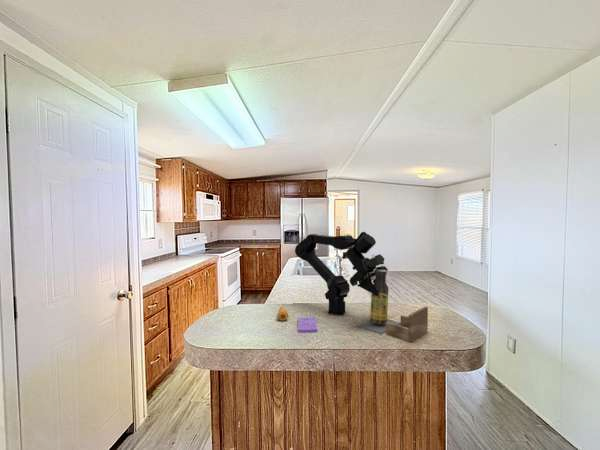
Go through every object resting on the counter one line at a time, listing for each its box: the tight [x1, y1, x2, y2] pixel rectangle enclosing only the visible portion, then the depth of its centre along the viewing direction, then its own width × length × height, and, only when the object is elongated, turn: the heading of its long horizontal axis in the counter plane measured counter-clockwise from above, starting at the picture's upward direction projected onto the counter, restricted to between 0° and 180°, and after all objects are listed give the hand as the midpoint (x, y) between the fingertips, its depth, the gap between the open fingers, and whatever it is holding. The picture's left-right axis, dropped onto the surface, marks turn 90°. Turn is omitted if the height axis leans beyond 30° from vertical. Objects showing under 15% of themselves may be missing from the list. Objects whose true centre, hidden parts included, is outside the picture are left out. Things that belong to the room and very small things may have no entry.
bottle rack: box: [385, 306, 429, 343], centre depth 107 cm, size 10×12×9 cm
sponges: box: [297, 316, 318, 334], centre depth 115 cm, size 7×13×2 cm, turn 1°
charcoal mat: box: [357, 318, 401, 335], centre depth 115 cm, size 10×14×1 cm
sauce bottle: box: [369, 269, 389, 324], centre depth 114 cm, size 6×6×20 cm
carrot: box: [277, 305, 289, 321], centre depth 129 cm, size 20×4×4 cm, turn 5°
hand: (382, 293), depth 113 cm, fingers closed on sauce bottle, 6 cm apart
